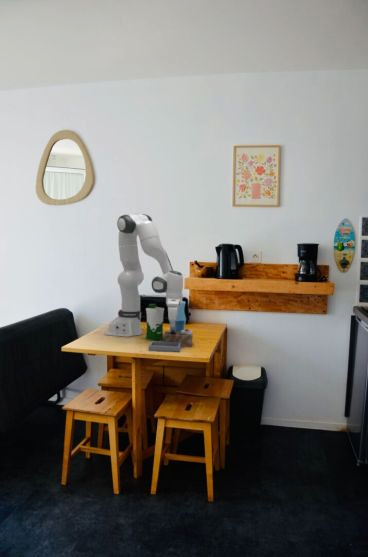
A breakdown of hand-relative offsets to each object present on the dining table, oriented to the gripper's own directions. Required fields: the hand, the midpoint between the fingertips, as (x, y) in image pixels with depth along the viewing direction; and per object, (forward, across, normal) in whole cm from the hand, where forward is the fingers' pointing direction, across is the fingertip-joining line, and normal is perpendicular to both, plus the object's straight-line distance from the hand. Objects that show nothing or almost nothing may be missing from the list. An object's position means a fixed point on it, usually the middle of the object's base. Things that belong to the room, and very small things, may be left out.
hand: (172, 325), depth 226 cm
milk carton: (+11, -10, -11) cm, 18 cm away
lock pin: (+7, 0, 0) cm, 7 cm away
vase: (+11, -24, +1) cm, 26 cm away
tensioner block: (+10, 0, +4) cm, 11 cm away
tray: (+10, +10, -3) cm, 15 cm away
